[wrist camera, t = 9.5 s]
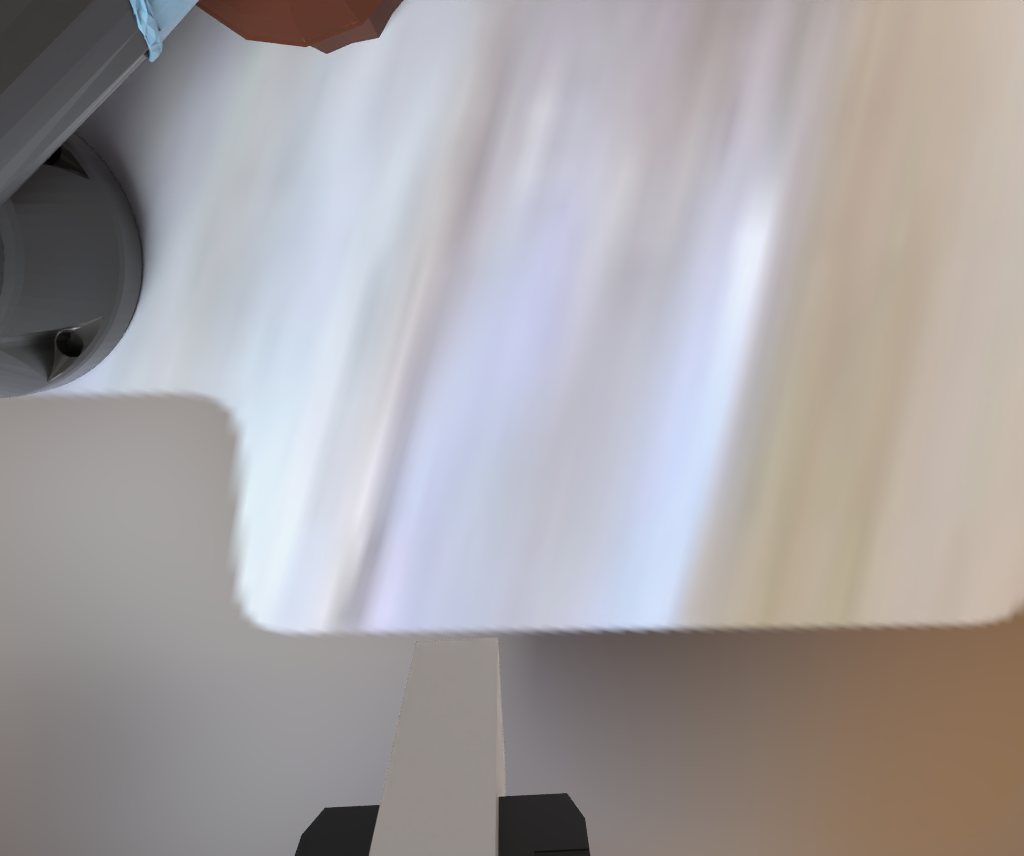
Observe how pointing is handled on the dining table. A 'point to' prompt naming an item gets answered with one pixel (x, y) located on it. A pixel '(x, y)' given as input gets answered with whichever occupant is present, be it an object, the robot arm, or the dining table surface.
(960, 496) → the dining table surface
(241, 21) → the muffin
